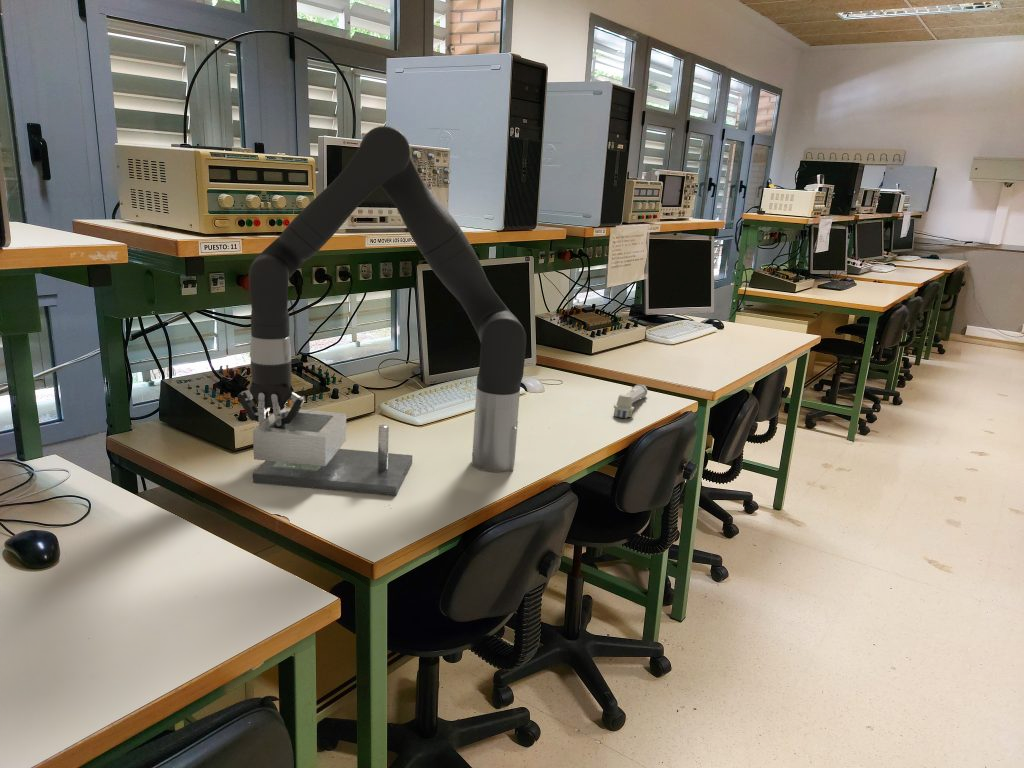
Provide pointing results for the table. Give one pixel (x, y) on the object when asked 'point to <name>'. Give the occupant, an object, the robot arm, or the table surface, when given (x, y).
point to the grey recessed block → (301, 438)
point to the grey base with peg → (344, 471)
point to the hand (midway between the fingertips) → (272, 440)
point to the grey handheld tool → (629, 401)
